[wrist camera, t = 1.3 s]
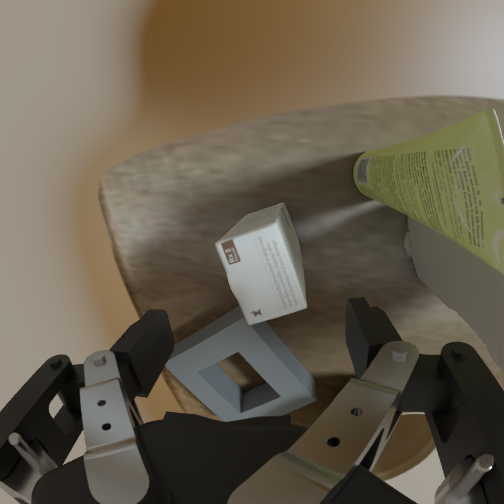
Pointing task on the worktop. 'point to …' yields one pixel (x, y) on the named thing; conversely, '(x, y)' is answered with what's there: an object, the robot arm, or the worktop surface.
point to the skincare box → (264, 264)
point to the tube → (446, 183)
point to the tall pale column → (460, 283)
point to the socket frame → (256, 354)
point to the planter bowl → (405, 446)
